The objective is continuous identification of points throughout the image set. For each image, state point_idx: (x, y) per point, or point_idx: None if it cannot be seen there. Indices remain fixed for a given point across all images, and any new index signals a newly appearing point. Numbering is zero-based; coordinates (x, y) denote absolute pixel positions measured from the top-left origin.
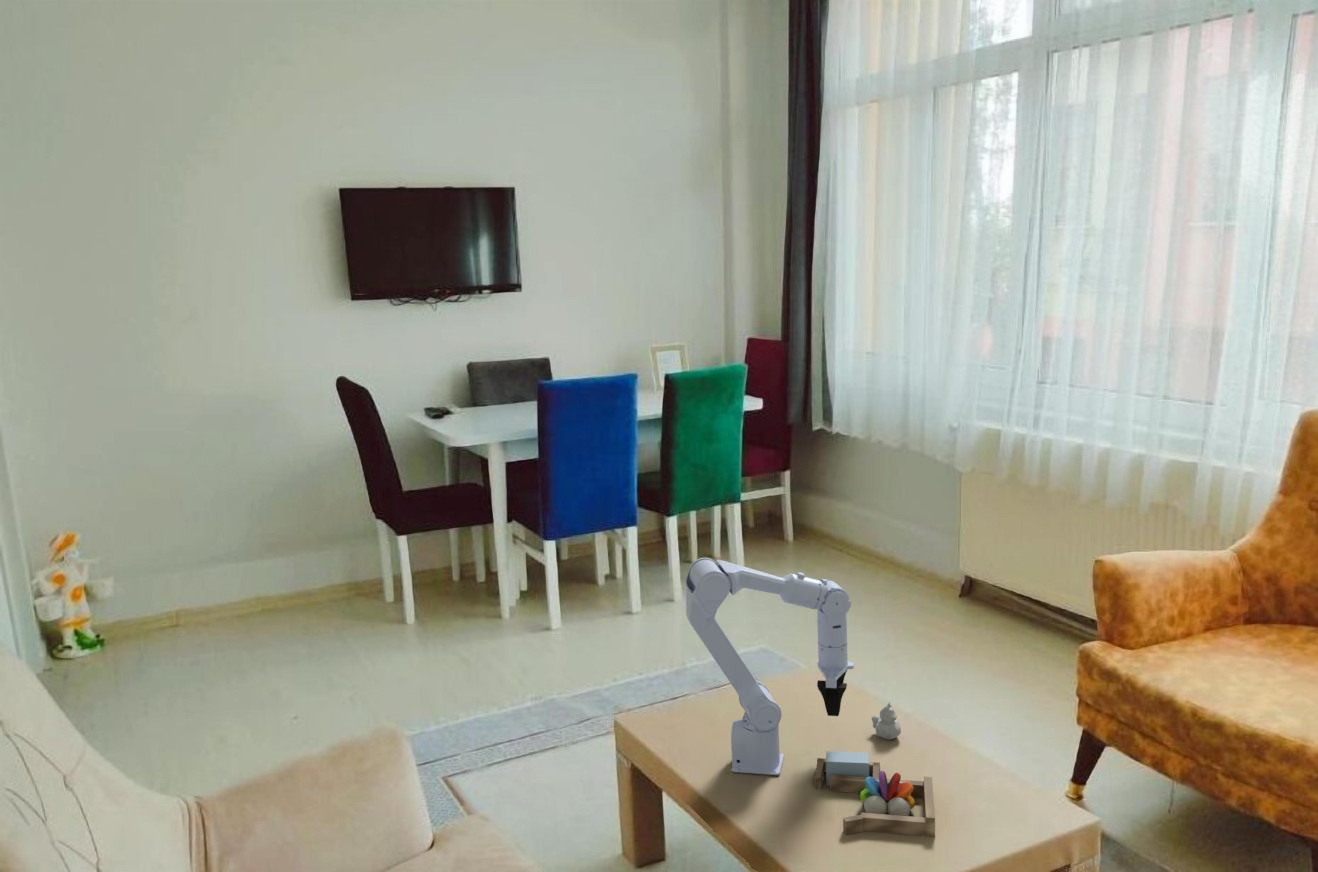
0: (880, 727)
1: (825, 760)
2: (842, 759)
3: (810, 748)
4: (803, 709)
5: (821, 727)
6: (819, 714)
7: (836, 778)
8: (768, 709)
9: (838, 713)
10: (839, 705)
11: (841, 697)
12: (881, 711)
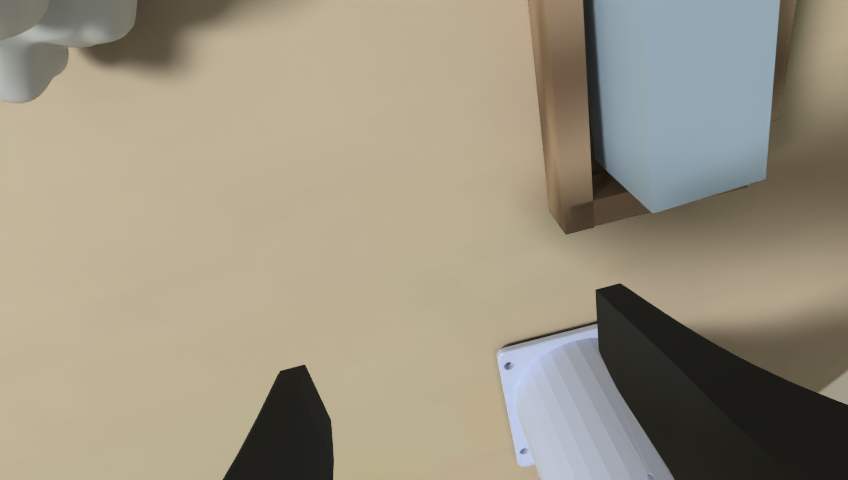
0: (114, 1)
1: (579, 196)
2: (742, 103)
3: (396, 288)
4: (70, 423)
5: (185, 313)
6: (66, 360)
7: (778, 91)
8: None
9: (639, 296)
10: (702, 339)
11: (812, 393)
12: (5, 22)
